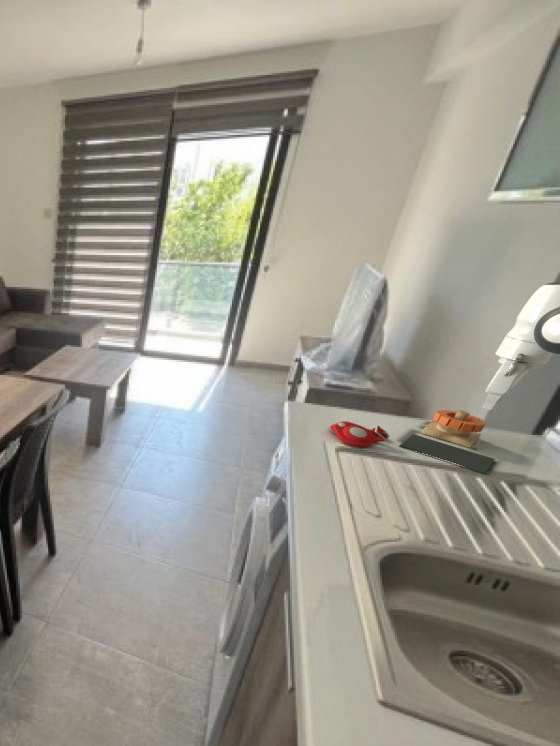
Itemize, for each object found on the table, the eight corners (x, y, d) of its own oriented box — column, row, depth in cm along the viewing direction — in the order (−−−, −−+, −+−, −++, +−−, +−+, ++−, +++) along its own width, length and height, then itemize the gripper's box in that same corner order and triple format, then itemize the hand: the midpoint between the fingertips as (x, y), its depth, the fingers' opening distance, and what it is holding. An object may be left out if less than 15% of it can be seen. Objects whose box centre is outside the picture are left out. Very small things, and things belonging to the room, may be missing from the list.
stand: (478, 438, 128) (493, 414, 125) (470, 448, 123) (486, 423, 119) (431, 424, 135) (444, 401, 132) (421, 433, 129) (434, 409, 126)
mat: (494, 460, 117) (495, 458, 117) (484, 474, 110) (485, 472, 110) (412, 435, 128) (413, 433, 128) (398, 446, 121) (399, 445, 121)
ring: (485, 426, 126) (489, 419, 125) (477, 435, 121) (481, 428, 120) (438, 413, 133) (442, 407, 132) (429, 421, 128) (432, 414, 127)
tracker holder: (362, 447, 117) (326, 422, 124) (352, 459, 120) (318, 434, 127) (398, 432, 120) (361, 408, 126) (388, 444, 123) (353, 420, 129)
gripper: (537, 362, 107) (500, 418, 113) (548, 349, 118) (514, 401, 124) (498, 354, 111) (464, 408, 118) (513, 342, 122) (481, 393, 129)
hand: (490, 404), depth 121 cm, fingers open, 8 cm apart
